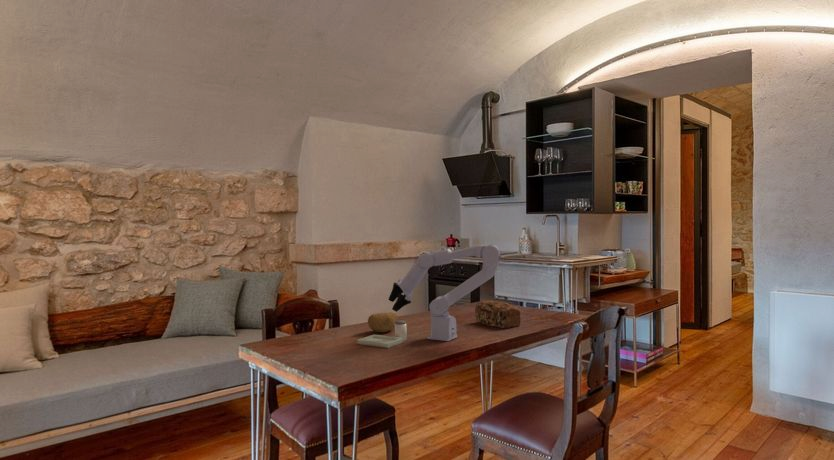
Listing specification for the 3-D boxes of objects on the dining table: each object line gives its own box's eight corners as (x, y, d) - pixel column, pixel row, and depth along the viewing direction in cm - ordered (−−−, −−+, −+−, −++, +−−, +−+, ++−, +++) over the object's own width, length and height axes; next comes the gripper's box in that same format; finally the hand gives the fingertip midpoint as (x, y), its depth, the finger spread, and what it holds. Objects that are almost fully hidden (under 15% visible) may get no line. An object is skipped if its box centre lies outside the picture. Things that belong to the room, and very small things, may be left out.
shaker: (409, 338, 193) (408, 321, 193) (402, 341, 189) (402, 323, 189) (399, 337, 195) (398, 320, 195) (392, 339, 191) (392, 322, 191)
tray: (403, 342, 187) (403, 338, 187) (388, 348, 178) (387, 343, 178) (373, 338, 194) (373, 334, 194) (357, 344, 186) (357, 339, 186)
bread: (474, 322, 221) (474, 300, 221) (493, 319, 226) (492, 297, 226) (503, 329, 205) (502, 305, 205) (522, 326, 211) (521, 302, 210)
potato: (404, 331, 207) (404, 311, 207) (375, 336, 198) (375, 316, 198) (391, 327, 215) (390, 309, 214) (363, 332, 206) (362, 313, 206)
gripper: (400, 265, 199) (381, 292, 201) (408, 282, 186) (387, 310, 188) (414, 274, 202) (394, 299, 204) (423, 290, 189) (402, 318, 191)
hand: (392, 305), depth 196 cm, fingers open, 7 cm apart
